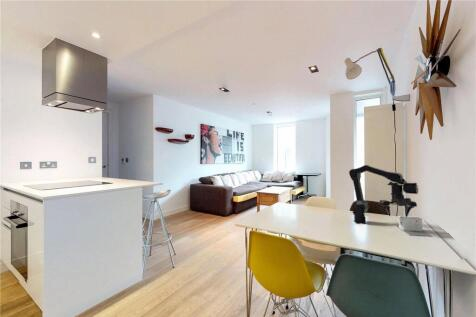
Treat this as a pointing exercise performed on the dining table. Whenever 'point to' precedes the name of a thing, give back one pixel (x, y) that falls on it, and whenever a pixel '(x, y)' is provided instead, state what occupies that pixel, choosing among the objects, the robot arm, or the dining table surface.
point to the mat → (416, 233)
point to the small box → (410, 223)
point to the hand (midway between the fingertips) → (397, 216)
